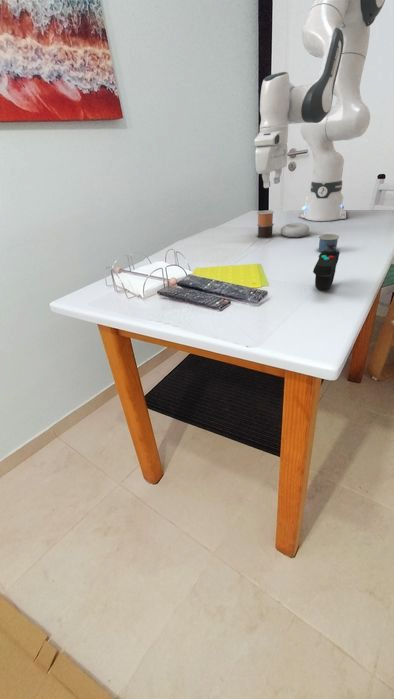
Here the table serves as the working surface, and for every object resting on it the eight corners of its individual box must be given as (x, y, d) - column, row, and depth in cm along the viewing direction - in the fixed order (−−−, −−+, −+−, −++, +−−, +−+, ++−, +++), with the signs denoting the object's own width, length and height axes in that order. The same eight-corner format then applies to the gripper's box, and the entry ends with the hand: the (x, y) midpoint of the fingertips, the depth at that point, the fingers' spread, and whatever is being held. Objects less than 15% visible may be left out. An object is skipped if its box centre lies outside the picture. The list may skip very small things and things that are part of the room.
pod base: (260, 233, 129) (260, 222, 127) (275, 234, 126) (275, 222, 124) (254, 237, 125) (255, 225, 123) (269, 238, 122) (270, 226, 120)
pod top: (319, 247, 109) (321, 233, 107) (338, 248, 106) (340, 234, 104) (315, 252, 105) (317, 238, 103) (335, 253, 102) (337, 239, 100)
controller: (336, 281, 84) (342, 241, 78) (328, 301, 75) (334, 257, 69) (318, 280, 85) (323, 240, 80) (308, 299, 76) (313, 255, 71)
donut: (281, 239, 121) (310, 238, 119) (281, 229, 119) (311, 228, 117) (280, 232, 129) (308, 231, 127) (281, 223, 127) (308, 221, 125)
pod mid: (260, 222, 127) (260, 210, 124) (275, 222, 124) (276, 210, 122) (254, 225, 123) (254, 213, 120) (270, 226, 120) (270, 213, 118)
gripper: (275, 136, 116) (273, 181, 123) (251, 140, 102) (251, 190, 109) (293, 135, 113) (290, 180, 121) (271, 138, 99) (270, 190, 106)
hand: (271, 185), depth 115 cm, fingers open, 8 cm apart
